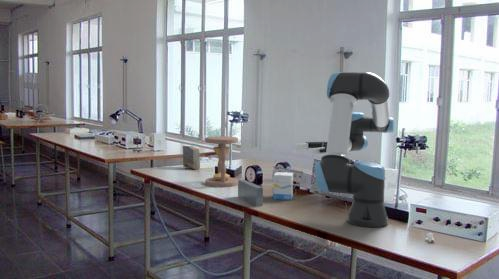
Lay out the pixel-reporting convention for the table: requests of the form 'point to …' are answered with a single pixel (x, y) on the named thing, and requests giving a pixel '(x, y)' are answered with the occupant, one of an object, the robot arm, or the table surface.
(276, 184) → the ink box
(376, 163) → the robot arm
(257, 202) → the block
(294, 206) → the table surface
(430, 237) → the power adapter
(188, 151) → the geological specimen
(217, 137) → the hourglass
